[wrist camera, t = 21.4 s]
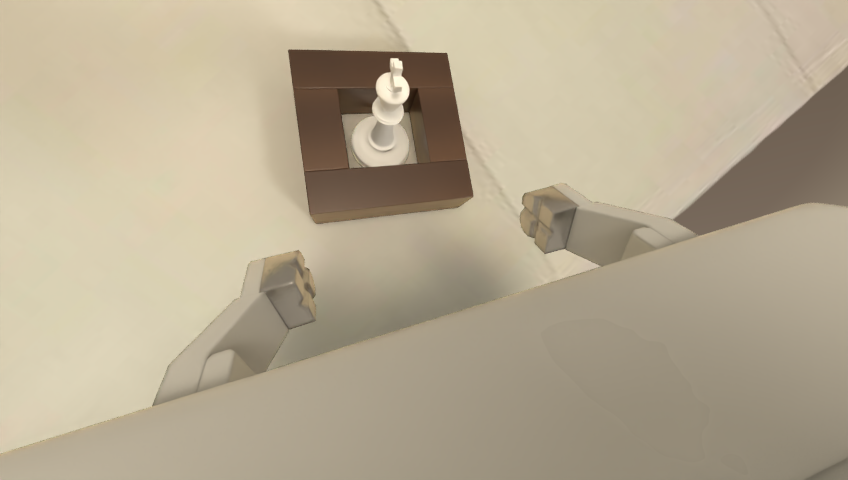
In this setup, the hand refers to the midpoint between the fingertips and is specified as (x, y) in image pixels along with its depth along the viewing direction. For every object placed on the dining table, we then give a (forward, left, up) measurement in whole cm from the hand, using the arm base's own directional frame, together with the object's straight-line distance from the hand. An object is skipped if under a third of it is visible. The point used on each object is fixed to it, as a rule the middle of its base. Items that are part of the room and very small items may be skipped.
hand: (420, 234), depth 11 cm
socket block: (+6, -7, -14) cm, 17 cm away
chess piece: (+6, -7, -14) cm, 17 cm away
